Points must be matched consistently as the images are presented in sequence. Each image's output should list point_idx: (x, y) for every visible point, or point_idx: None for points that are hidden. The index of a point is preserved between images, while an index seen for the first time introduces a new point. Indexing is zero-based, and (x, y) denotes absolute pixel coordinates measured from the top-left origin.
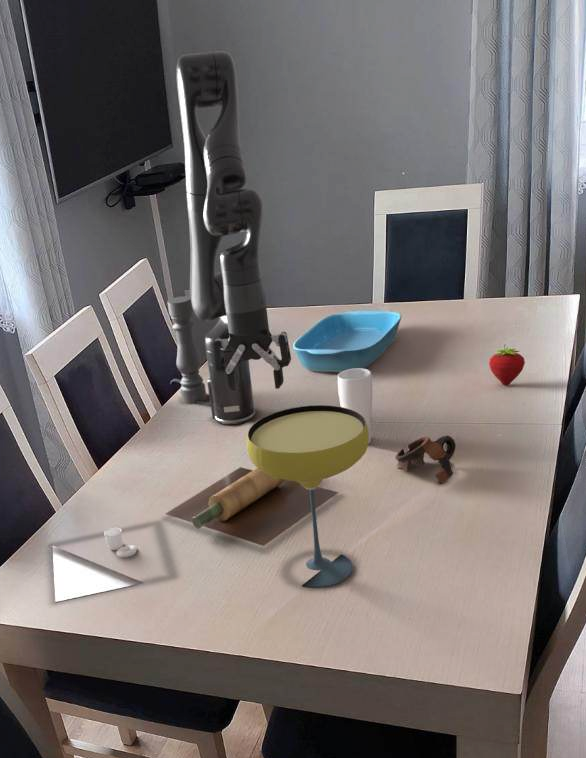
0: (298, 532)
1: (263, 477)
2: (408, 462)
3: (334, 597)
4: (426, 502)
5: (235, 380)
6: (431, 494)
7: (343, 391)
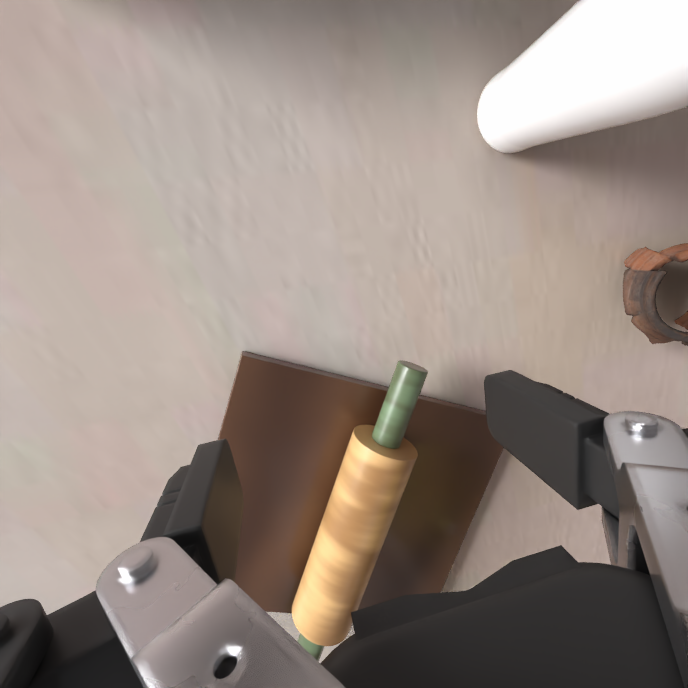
0: (461, 544)
1: (391, 519)
2: (673, 340)
3: None
4: (650, 394)
5: (228, 518)
6: (658, 364)
7: (651, 93)
